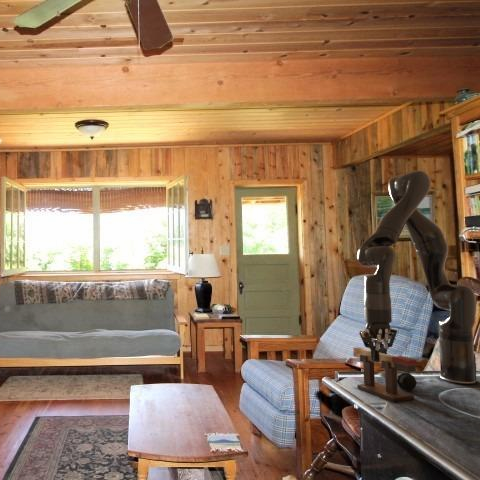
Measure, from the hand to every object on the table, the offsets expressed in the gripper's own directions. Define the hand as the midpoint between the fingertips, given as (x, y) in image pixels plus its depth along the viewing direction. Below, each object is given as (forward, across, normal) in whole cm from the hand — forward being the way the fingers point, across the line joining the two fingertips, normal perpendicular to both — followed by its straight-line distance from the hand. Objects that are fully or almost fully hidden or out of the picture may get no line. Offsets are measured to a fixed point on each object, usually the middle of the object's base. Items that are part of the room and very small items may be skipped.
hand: (379, 360), depth 131 cm
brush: (+1, 0, +2) cm, 2 cm away
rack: (+10, 0, +2) cm, 10 cm away
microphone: (+10, -13, -4) cm, 17 cm away
